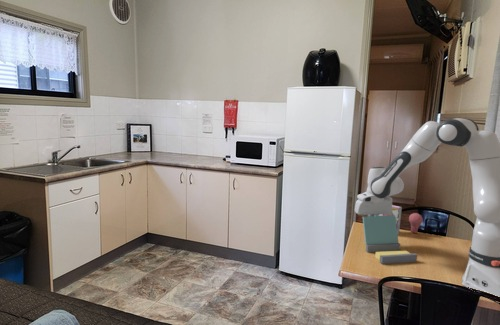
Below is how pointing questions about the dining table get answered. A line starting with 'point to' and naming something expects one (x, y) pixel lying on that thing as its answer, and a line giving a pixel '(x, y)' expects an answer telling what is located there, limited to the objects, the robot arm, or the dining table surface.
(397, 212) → the candy bar box
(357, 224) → the dining table surface
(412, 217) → the light bulb
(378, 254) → the pale yellow strip
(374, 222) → the panel
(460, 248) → the dining table surface
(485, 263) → the robot arm
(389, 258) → the pair of grey bars
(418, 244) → the dining table surface
